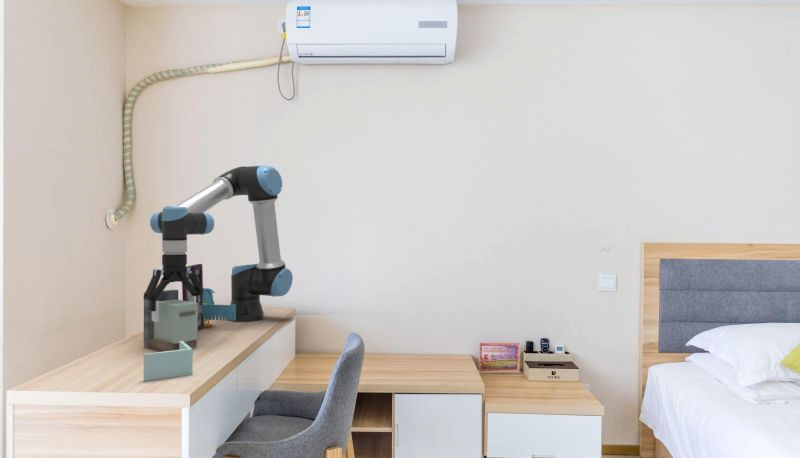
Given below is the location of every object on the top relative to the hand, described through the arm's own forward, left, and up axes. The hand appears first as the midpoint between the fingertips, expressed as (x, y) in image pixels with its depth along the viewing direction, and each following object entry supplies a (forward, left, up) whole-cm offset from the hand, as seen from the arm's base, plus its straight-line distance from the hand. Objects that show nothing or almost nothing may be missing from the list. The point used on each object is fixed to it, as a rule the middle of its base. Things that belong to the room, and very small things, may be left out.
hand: (174, 318), depth 181 cm
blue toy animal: (-28, -22, -10) cm, 37 cm away
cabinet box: (0, +1, -7) cm, 7 cm away
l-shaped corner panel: (+19, +25, -10) cm, 33 cm away
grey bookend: (0, -1, -10) cm, 10 cm away
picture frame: (-17, -20, -10) cm, 28 cm away
